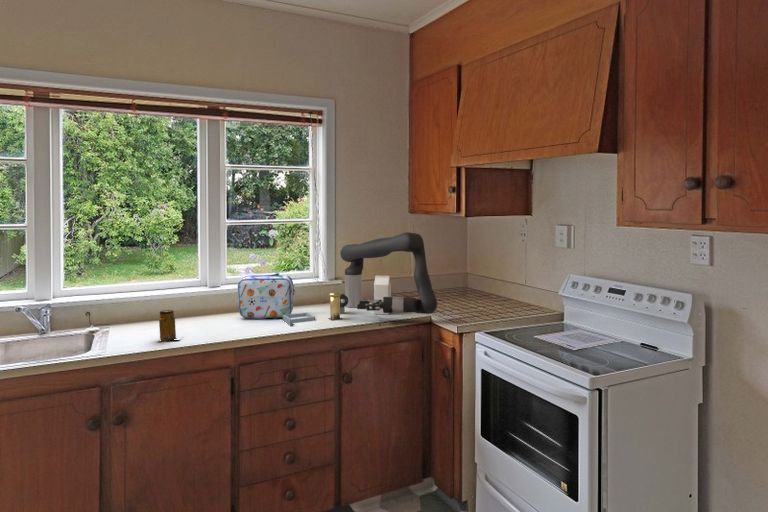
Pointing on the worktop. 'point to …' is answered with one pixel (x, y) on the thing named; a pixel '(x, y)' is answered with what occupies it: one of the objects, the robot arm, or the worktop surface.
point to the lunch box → (265, 296)
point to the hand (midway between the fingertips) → (358, 304)
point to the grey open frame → (290, 321)
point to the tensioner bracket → (342, 304)
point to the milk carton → (381, 290)
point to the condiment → (167, 325)
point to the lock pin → (335, 305)
